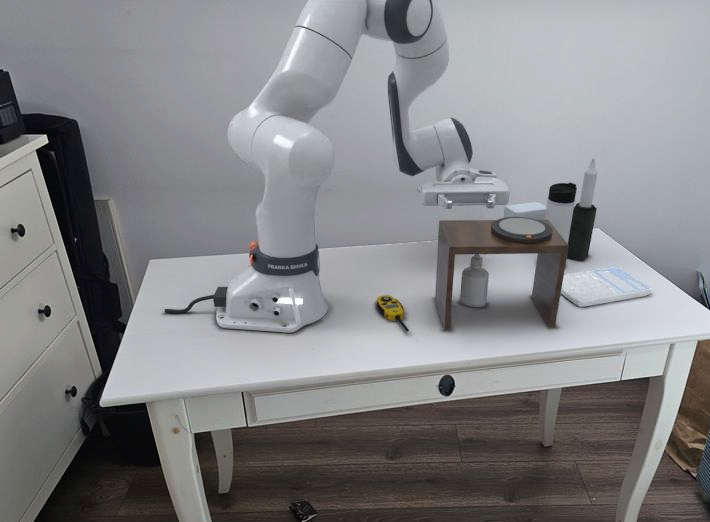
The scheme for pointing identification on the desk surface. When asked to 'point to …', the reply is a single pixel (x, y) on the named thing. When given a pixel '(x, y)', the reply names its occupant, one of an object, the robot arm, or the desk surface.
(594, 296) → the calculator
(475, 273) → the eye dropper bottle
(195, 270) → the desk surface
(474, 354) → the desk surface
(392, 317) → the yellow walkie talkie
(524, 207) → the cosmetics box
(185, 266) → the desk surface
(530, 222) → the hot plate
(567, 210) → the travel mug
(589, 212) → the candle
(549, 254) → the desk shelf
